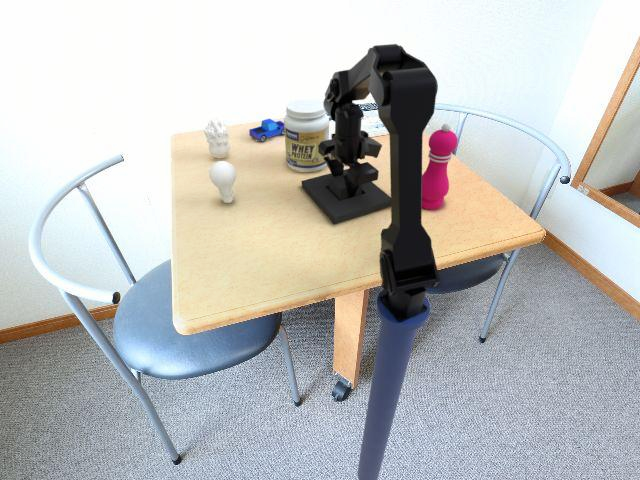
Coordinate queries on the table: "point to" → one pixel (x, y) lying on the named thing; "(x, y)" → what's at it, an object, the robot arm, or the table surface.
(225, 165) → the lightbulb
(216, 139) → the figurine
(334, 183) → the small pad
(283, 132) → the toy car
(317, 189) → the socket pad
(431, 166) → the pepper mill
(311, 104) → the supplement tub
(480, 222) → the table surface
